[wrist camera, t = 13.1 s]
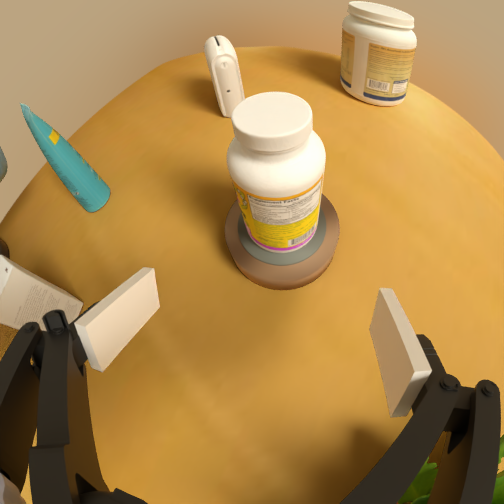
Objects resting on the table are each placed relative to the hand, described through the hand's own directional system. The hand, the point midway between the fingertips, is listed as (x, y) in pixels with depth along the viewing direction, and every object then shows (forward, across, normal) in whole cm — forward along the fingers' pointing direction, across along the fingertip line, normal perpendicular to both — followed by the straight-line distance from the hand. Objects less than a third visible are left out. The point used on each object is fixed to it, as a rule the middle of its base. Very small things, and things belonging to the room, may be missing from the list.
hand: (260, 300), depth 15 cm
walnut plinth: (+14, 0, -1) cm, 14 cm away
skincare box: (+6, -25, -10) cm, 28 cm away
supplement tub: (+37, +14, +21) cm, 45 cm away
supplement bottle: (+12, 0, +1) cm, 12 cm away
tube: (+18, -27, +3) cm, 33 cm away
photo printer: (+32, -10, +17) cm, 38 cm away
